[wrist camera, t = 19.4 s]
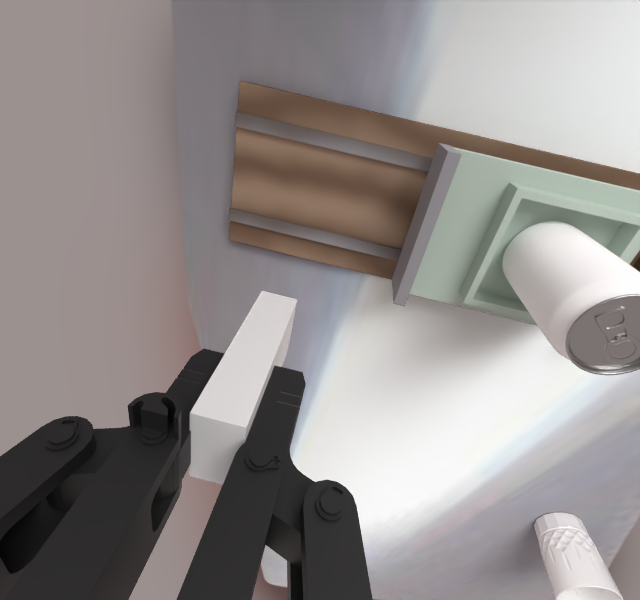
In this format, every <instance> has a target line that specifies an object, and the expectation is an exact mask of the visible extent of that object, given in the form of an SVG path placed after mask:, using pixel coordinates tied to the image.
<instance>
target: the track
mask: <svg viewBox="0 0 640 600" xmlns="http://www.w3.org/2000/svg"><path fill="white" fill-rule="evenodd" d="M235 126H236V127H237V131H236V145H235V159H234V173H233V187H232V201H231V208H230V209H229V220H230V230H229V240H232V241H236V242H240V243H244V244H248V245H252V246H257V247H261V248H265V249H269V250H273V251H277V252H281V253H285V254H289V255H294V256H298V257H302V258H306V259H310V260H314V261H318V262H322V263H326V264H331V265H335V266H339V267H343V268H347V269H351V270H355V271H359V272H363V273H368V274H372V275H376V276H380V277H384V278H388V279H392V278H393V275H394V272H395V269H396V266H397V263H398V260H399V257H400V254H401V251H402V248H403V245H404V242H405V239H406V236H407V234H408V231H409V228H410V225H411V222H412V219H413V216H414V213H415V210H416V207H417V204H418V201H419V198H420V195H421V192H422V189H423V187H424V184H425V181H426V178H427V175H428V172H429V169H430V166H431V163H432V160H433V157H434V154H435V151H436V148H437V145H438V143H442V144H446V145H450V146H452V147H455V148H459V149H464V150H468V151H472V152H476V153H481V154H485V155H489V156H494V157H498V158H502V159H506V160H511V161H515V162H519V163H523V164H528V165H532V166H536V167H541V168H545V169H549V170H553V171H558V172H562V173H566V174H571V175H575V176H579V177H583V178H588V179H592V180H596V181H600V182H605V183H609V184H613V185H618V186H622V187H626V188H630V189H635V190H639V191H640V174H639V173H635V172H630V171H626V170H622V169H618V168H613V167H609V166H605V165H600V164H596V163H592V162H588V161H583V160H579V159H575V158H570V157H566V156H562V155H557V154H553V153H549V152H545V151H540V150H536V149H532V148H527V147H523V146H519V145H515V144H510V143H506V142H502V141H497V140H493V139H489V138H484V137H480V136H476V135H472V134H467V133H463V132H459V131H454V130H450V129H446V128H442V127H437V126H433V125H429V124H424V123H420V122H416V121H411V120H407V119H403V118H399V117H394V116H390V115H386V114H381V113H377V112H373V111H368V110H364V109H360V108H356V107H351V106H347V105H343V104H338V103H334V102H330V101H326V100H321V99H317V98H313V97H308V96H304V95H300V94H295V93H291V92H287V91H283V90H278V89H274V88H270V87H265V86H261V85H257V84H253V83H248V82H244V81H240V88H239V102H238V112H236V119H235ZM629 265H631V266H632V267H633V268H635V269H636V270H638V271H639V272H640V250H639V252H638V253H637V255H636V256H635V257H634V259H633V260H632V262H631V263H630V264H629Z"/></svg>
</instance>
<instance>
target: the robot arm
mask: <svg viewBox="0 0 640 600" xmlns="http://www.w3.org/2000/svg"><path fill="white" fill-rule="evenodd" d="M296 304H297V299H293V298H289V297H285V296H281V295H277V294H273V293H269V292H265V291H262V292H261V293H260V295H259V297H258V298H257V300H256V302H255V303H254V305H253V307H252V308H251V310H250V312H249V314H248V315H247V317H246V319H245V320H244V322H243V324H242V325H241V327H240V329H239V330H238V332H237V334H236V336H235V337H234V339H233V341H232V342H231V344H230V346H229V347H228V349H227V351H226V352H225V354H223V353H219V352H215V351H211V350H207V349H203V350H201V351H200V352H198V353H196V354H195V355H193V356H192V357H191V358H190V360H189V361H188V362H187V364H186V365H185V367H184V369H183V370H182V371H181V372H180V374H179V375H178V377H177V379H175V381H174V382H173V384H172V385H171V386H170V388H169V389H168V391H167V392H166V393H158V392H155V393H149V394H145V395H143V396H140V397H138V398H136V399H135V400H134V401H132V402H131V403H130V404H129V405H128V412H129V420H130V426H128V427H122V428H109V429H93V427H92V424H91V423H90V422H89V421H88V420H87V419H85V418H81V417H78V416H68V417H63V418H59V419H56V420H53V421H51V422H50V423H48V424H46V425H44V426H42V427H41V428H39V429H38V430H37V431H35V432H34V433H32V434H31V435H30V436H28V437H27V438H25V439H24V440H23V441H21V442H20V443H18V444H17V445H16V446H14V447H13V448H11V449H10V450H9V451H7V452H6V453H5V454H3V455H2V456H0V600H128V599H129V597H130V595H131V593H132V591H133V589H134V587H135V585H136V583H137V581H138V578H139V577H140V575H141V573H142V571H143V569H144V567H145V565H146V563H147V561H148V559H149V557H150V554H151V552H152V550H153V548H154V546H155V544H156V542H157V540H158V538H159V536H160V534H161V532H162V530H163V528H164V526H165V524H166V522H167V520H168V518H169V516H170V514H171V512H172V510H173V508H174V506H175V504H176V502H177V499H178V498H179V495H180V492H181V488H182V479H183V477H184V475H185V473H186V471H187V469H188V467H189V476H191V477H195V478H199V479H202V480H206V481H210V482H214V483H218V484H222V485H223V486H222V488H221V491H220V493H219V496H218V498H217V501H216V503H215V506H214V508H213V511H212V513H211V515H210V518H209V520H208V523H207V525H206V528H205V530H204V533H203V535H202V538H201V540H200V543H199V545H198V548H197V550H196V553H195V555H194V558H193V560H192V563H191V565H190V568H189V570H188V573H187V575H186V578H185V580H184V583H183V585H182V588H181V590H180V593H179V595H178V597H177V600H251V599H252V595H253V591H254V587H255V584H256V580H257V576H258V572H259V567H260V564H261V560H262V556H263V552H264V548H265V544H266V545H267V546H268V547H270V548H271V549H272V550H274V551H275V552H276V553H278V554H279V555H280V556H282V557H283V558H284V559H286V560H287V580H288V600H372V594H371V589H370V583H369V577H368V571H367V565H366V559H365V553H364V548H363V542H362V536H361V530H360V524H359V518H358V513H357V507H356V504H355V501H354V498H353V496H352V494H351V493H350V492H349V491H348V489H347V488H346V487H344V486H343V485H341V484H340V483H338V482H335V481H330V480H323V481H318V482H314V481H312V480H311V479H309V478H308V477H306V476H305V475H303V474H302V473H301V472H300V471H298V469H297V468H296V467H295V466H294V464H293V462H292V460H291V457H290V445H291V441H292V437H293V434H294V430H295V426H296V422H297V418H298V414H299V410H300V405H301V401H302V397H303V393H304V389H305V385H306V384H305V380H304V376H303V373H302V372H299V371H295V370H291V369H287V368H283V367H282V365H283V362H284V359H285V357H286V354H287V351H288V346H289V341H290V336H291V331H292V325H293V320H294V315H295V310H296Z"/></svg>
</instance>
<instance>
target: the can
mask: <svg viewBox="0 0 640 600" xmlns="http://www.w3.org/2000/svg"><path fill="white" fill-rule="evenodd" d="M502 268H503V272H504V275H505V277H506V279H507V280H508V282H509V283H510V285H511V286H512V288H513V289H514V291H515V292H516V294H517V295H518V297H519V298H520V300H521V301H522V303H523V304H524V306H525V307H526V309H527V310H528V312H529V313H530V315H531V316H532V318H533V319H534V321H535V322H536V324H537V325H538V327H539V328H540V329H541V331H542V332H543V334H544V335H545V337H546V338H547V340H548V341H549V342H550V344H551V345H552V346H553V348H554V349H555V350H556V351H557V352H558V353H559V354H561V355H562V356H564V357H565V358H567V359H569V360H571V361H572V362H573V363H574V364H575V365H576V366H577V367H579V368H580V369H582V370H584V371H587V372H590V373H594V374H599V375H618V374H624V373H629V372H633V371H636V370H638V369H640V272H639V271H638V270H636V269H635V268H633V267H632V266H631V265H629V264H628V263H626V262H625V261H623V260H622V259H621V258H619V257H618V256H616V255H615V254H613V253H612V252H611V251H609V250H608V249H606V248H605V247H603V246H602V245H600V244H599V243H598V242H596V241H595V240H593V239H592V238H590V237H589V236H587V235H586V234H584V233H583V232H581V231H580V230H578V229H577V228H575V227H574V226H572V225H570V224H567V223H564V222H558V221H549V222H542V223H538V224H535V225H533V226H530V227H528V228H527V229H525V230H523V231H522V232H520V233H519V234H518V235H517V236H516V237H515V238H514V239H513V240H512V241H511V242H510V243H509V245H508V246H507V248H506V250H505V253H504V255H503V260H502Z"/></svg>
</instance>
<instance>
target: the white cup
mask: <svg viewBox="0 0 640 600" xmlns="http://www.w3.org/2000/svg"><path fill="white" fill-rule="evenodd" d="M534 528H535V531H536V534H537V537H538V541H539V547H540V550H541V554H542V558H543V562H544V565H545V568H546V571H547V575H548V578H549V581H550V585H551V588H552V591H553V595H554V598H555V600H623V598H622V596H621V594H620V592H619V590H618V588H617V586H616V584H615V582H614V580H613V578H612V576H611V575H610V573H609V571H608V569H607V567H606V565H605V563H604V561H603V559H602V557H601V556H600V554H599V552H598V550H597V548H596V546H595V545H594V543H593V541H592V540H591V539H590V537H589V535H588V533H587V531H586V529H585V527H584V525H583V523H582V521H581V520H580V519H579V518H577V517H576V516H575V515H572V514H568V513H564V512H553V513H549V514H545V515H543V516H541V517H539V518H538V519H536V521H535V523H534Z"/></svg>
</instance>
